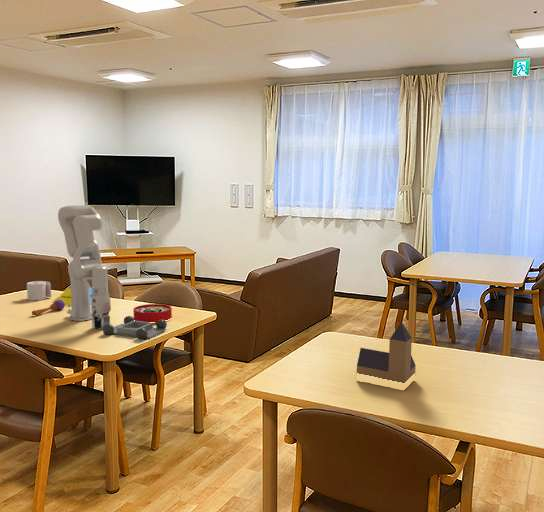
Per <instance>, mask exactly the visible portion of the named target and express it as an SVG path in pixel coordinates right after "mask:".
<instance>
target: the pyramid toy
mask: <svg viewBox="0 0 544 512" xmlns="http://www.w3.org/2000/svg"><path fill="white" fill-rule="evenodd" d="M56 300H62V301H63V302H64V303H65V305H71V306H70V307H72V301H71V287H68V288H67V289H66V290H65V291H63V292H62V293H61V294H59V296H58V297H56V298H55V299H54V300H53V301H52V302H51V303H54V302H55V301H56ZM91 301H92V286H90V304H91Z"/></svg>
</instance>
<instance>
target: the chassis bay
mask: <svg viewBox="0 0 544 512" xmlns="http://www.w3.org/2000/svg"><path fill="white" fill-rule="evenodd" d="M155 326H156V327H154V323H150V322H142V321H134V316H132V315H128V316H127V315H126V316H125V317H124V318H123V323H120V324H118V325H115V326H113V325H112V324H111V323H110V324H107V325H104V327H103V329H102V332H103V334H105V336H111V335H114V334H116V335H115V336H122V335H123V336H122V337H129V336H131V337H132V338H137V337H138V338H137V339H139V340H141V339H142V340H145V338H148V339H147V340H151V339H153V338H155V337H157V336H159V335H161V334H163V333H162V332H163V331H165V330H167V327H168V326H167V321H165V320H159V321H157V322H156V323H155ZM160 333H161V334H160ZM158 334H159V335H158ZM156 335H157V336H156ZM154 336H155V337H154ZM152 337H153V338H152ZM150 338H151V339H150Z"/></svg>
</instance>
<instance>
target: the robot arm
mask: <svg viewBox="0 0 544 512" xmlns="http://www.w3.org/2000/svg"><path fill="white" fill-rule="evenodd" d="M57 212H58V213H57V219H58V223H59V225H60V228H61V230H62V232H63V234H64V241H65V245H66V250H67V253H68V256H69V257H71V258H72V261H70V262H69V263H68V266H67V270H68V271H67V272H68V275H69V280H70V281H69V282H70V288H71V301H72V306H71V309H68V310H67V311H66V314H67V315H68V314H70V316H69V317H68V319H69V320H70V321H72V320H74V321H73V322H83V321H84V322H85V320H86V321H90V319H91V320H92V318H93V320H94V326H95V328H94V329H96V328H101V327H100V320H99V319H100V315H110V312H111V311H112V310H111V309H112V307H111V304H112V303H111V299H110V298H111V296H110V293H109V283H108V281H109V280H108V278H109V276H108V268H107V266H106V265H105V266H104V265H103V262H102V256H101V252H100V247H99V244H98V242H97V241H96V240H95V237H94V232H97V231H100V230H101V229H102V227H103V221H102V218H101V215H99V213H98V211H96V210H95V209H94V207H92V206H91V205H87V204H86V205H67V206H66V205H64V206H63V207H60V208H59V210H58V211H57ZM87 257H88V258H87ZM88 280H91V285H90V283H89V281H88ZM90 287H91V288H92V301H91V304H90ZM96 315H98V317H97V316H96Z"/></svg>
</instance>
